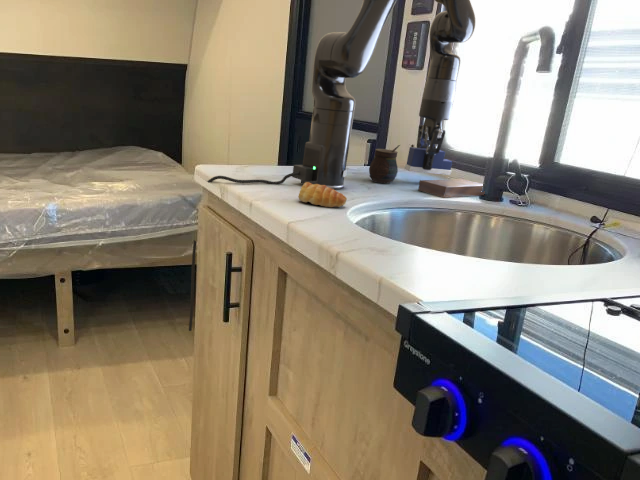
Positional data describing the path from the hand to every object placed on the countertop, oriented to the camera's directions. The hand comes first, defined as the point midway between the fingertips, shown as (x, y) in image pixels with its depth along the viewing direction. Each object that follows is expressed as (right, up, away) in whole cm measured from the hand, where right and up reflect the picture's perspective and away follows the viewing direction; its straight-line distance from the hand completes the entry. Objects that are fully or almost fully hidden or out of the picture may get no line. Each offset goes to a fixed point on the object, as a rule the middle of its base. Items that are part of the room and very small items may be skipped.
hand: (423, 167), depth 155 cm
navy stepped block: (+1, -1, 0) cm, 2 cm away
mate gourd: (-11, -4, -1) cm, 12 cm away
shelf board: (+5, -8, -7) cm, 12 cm away
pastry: (-31, -15, -33) cm, 48 cm away
